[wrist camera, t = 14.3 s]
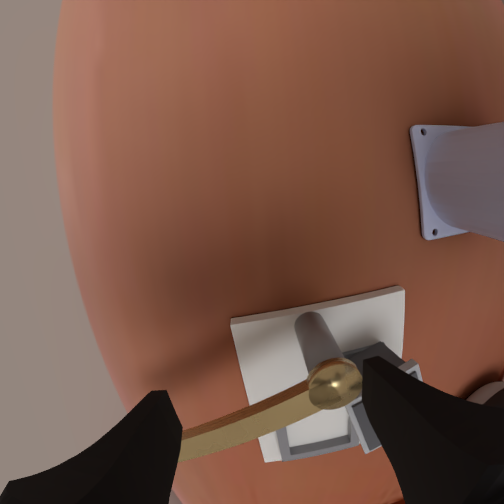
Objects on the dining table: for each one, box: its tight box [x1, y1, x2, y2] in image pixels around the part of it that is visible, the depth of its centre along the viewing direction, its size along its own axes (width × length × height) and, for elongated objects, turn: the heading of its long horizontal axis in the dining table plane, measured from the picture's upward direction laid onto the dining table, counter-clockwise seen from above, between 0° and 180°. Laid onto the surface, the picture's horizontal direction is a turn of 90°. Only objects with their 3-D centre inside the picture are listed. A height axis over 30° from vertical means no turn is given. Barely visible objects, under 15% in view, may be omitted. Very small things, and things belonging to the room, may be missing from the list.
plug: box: [345, 341, 423, 454], centre depth 16 cm, size 5×5×6 cm
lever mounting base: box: [230, 285, 405, 462], centre depth 18 cm, size 12×15×7 cm
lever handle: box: [178, 357, 363, 462], centre depth 14 cm, size 3×14×2 cm, turn 121°
